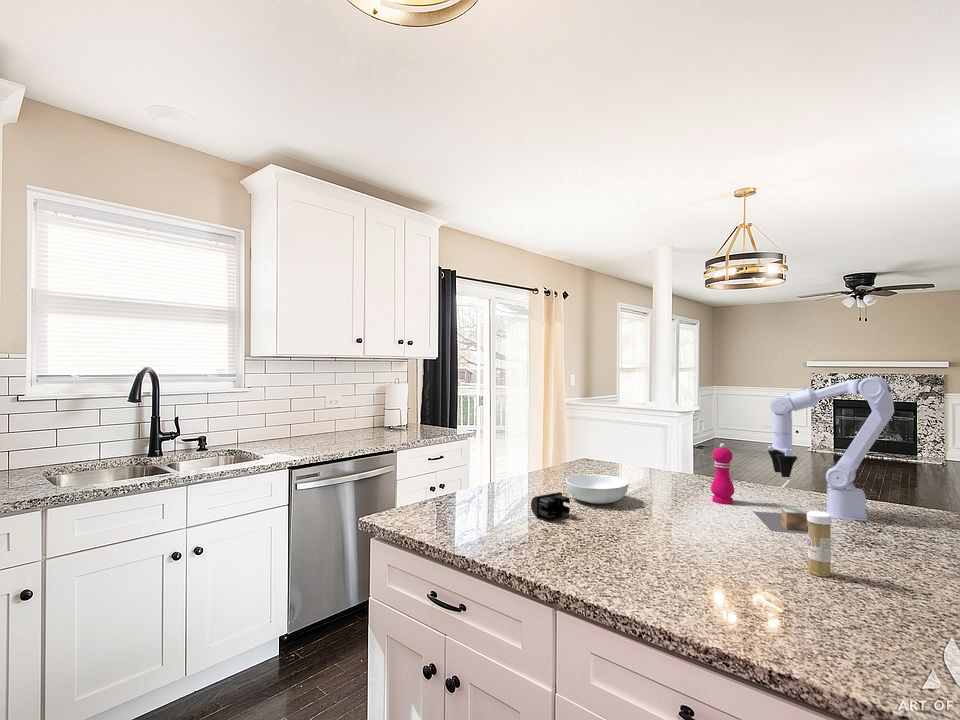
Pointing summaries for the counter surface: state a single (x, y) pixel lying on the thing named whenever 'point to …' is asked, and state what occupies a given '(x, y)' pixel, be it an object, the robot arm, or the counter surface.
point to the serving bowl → (597, 488)
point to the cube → (793, 519)
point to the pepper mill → (722, 476)
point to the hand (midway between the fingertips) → (782, 474)
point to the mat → (776, 522)
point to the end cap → (550, 507)
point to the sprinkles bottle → (819, 543)
